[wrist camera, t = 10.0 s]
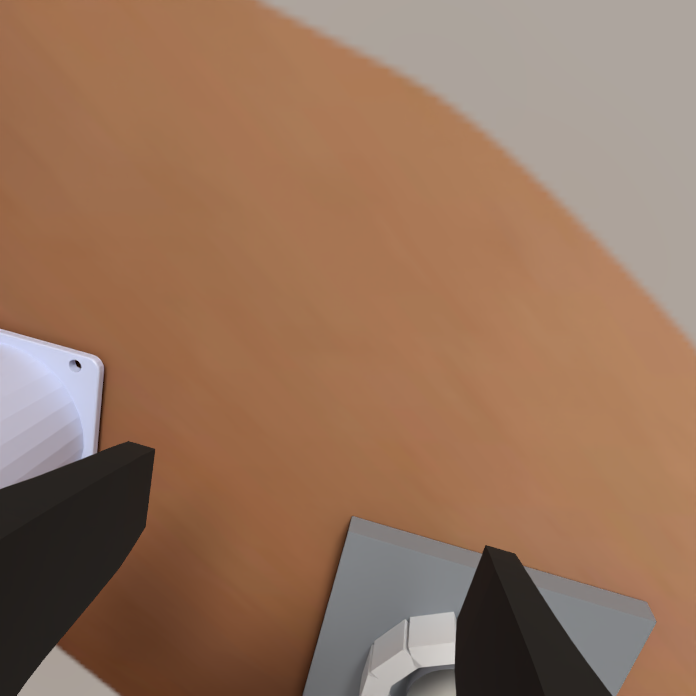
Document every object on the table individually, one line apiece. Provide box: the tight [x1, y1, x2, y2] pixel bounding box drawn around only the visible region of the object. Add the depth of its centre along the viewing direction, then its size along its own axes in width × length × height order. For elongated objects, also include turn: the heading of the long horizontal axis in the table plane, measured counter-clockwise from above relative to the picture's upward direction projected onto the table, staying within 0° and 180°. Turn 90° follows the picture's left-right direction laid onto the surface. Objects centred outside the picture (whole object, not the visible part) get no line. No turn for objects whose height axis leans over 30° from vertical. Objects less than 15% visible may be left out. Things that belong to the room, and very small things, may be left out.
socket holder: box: [302, 516, 656, 696], centre depth 23 cm, size 12×12×2 cm
